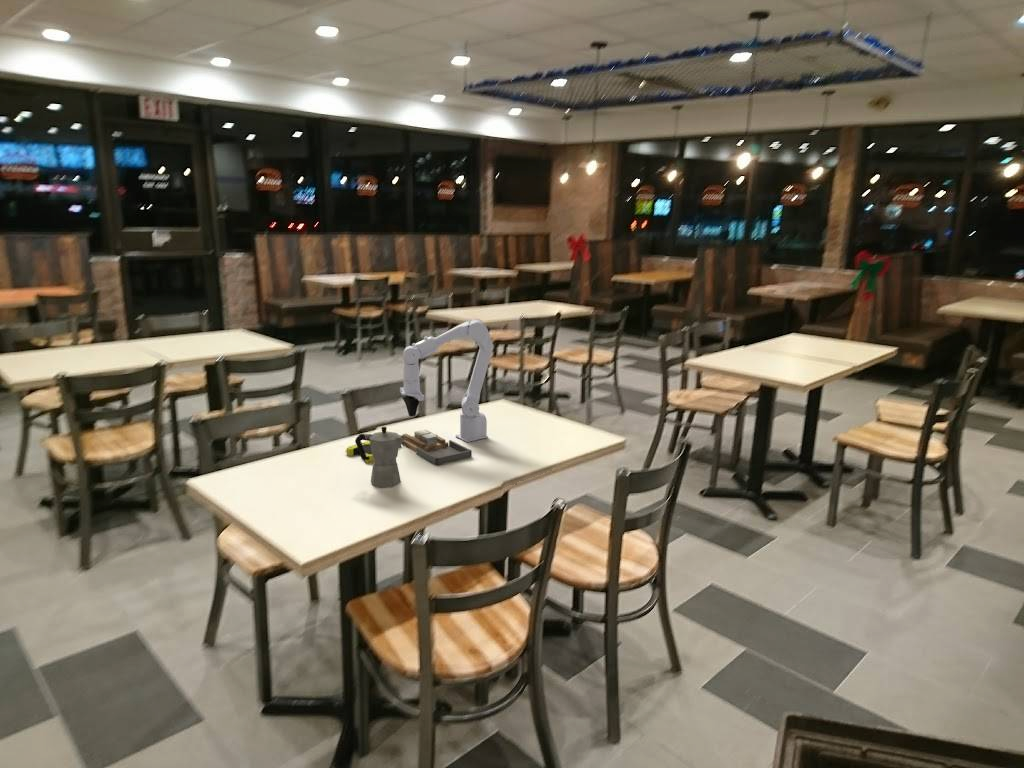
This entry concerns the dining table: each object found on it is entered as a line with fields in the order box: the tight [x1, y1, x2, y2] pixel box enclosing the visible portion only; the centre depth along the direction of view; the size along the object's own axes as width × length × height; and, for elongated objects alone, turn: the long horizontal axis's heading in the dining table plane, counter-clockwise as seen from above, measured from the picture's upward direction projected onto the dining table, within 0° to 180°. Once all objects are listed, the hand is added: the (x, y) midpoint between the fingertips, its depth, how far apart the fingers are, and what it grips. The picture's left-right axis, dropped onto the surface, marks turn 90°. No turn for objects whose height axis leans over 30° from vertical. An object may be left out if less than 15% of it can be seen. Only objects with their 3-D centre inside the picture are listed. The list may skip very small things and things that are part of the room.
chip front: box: [422, 432, 438, 447], centre depth 236 cm, size 4×4×3 cm
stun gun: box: [345, 440, 402, 464], centre depth 231 cm, size 3×19×15 cm
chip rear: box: [414, 429, 431, 442], centre depth 239 cm, size 4×4×3 cm
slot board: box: [401, 429, 449, 453], centre depth 239 cm, size 12×14×3 cm
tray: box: [415, 439, 473, 466], centre depth 229 cm, size 14×13×2 cm
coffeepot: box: [354, 426, 406, 489], centre depth 203 cm, size 15×9×18 cm, turn 90°
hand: (412, 415), depth 243 cm, fingers closed
